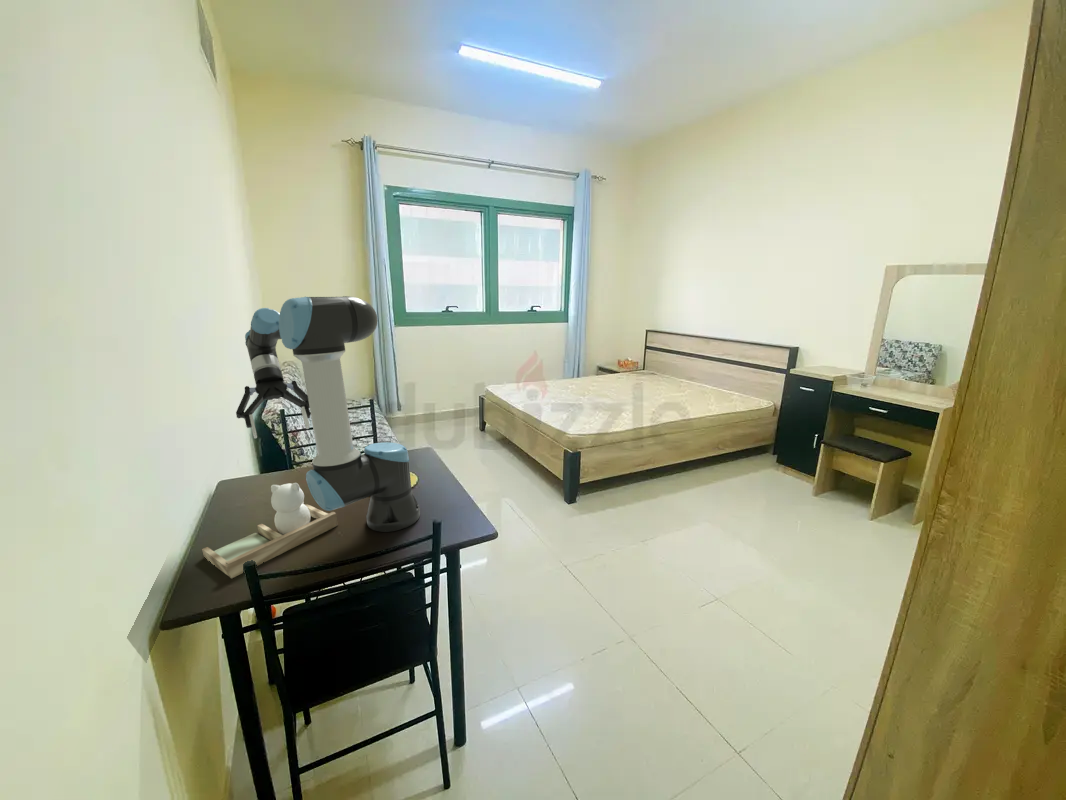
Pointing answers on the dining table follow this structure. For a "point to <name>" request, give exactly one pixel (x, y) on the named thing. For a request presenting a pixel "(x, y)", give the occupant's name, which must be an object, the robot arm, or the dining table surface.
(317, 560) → the dining table surface
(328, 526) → the organizer
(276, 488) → the cat figurine
